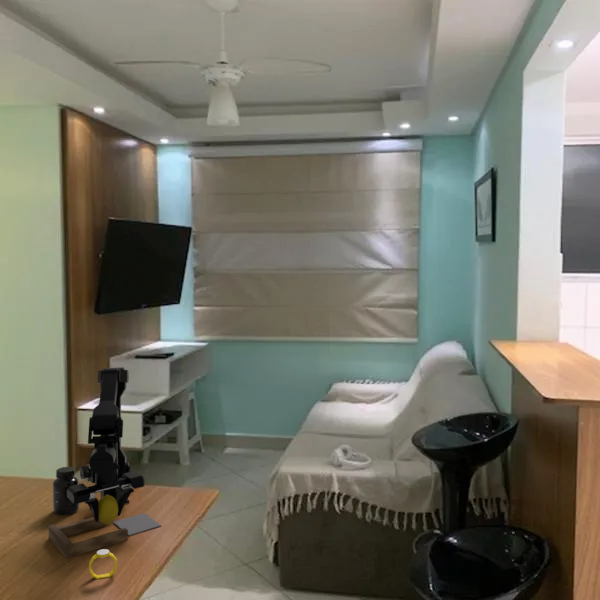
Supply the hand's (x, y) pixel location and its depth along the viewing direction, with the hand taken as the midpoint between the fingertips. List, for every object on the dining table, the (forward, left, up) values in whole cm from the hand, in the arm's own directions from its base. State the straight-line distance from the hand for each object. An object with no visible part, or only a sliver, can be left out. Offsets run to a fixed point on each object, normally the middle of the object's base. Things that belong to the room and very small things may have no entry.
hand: (107, 518), depth 160 cm
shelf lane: (+4, 0, -4) cm, 6 cm away
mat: (-8, 0, -4) cm, 9 cm away
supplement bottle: (+3, -21, -4) cm, 22 cm away
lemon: (0, 0, -2) cm, 2 cm away
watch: (+9, +20, -4) cm, 23 cm away
